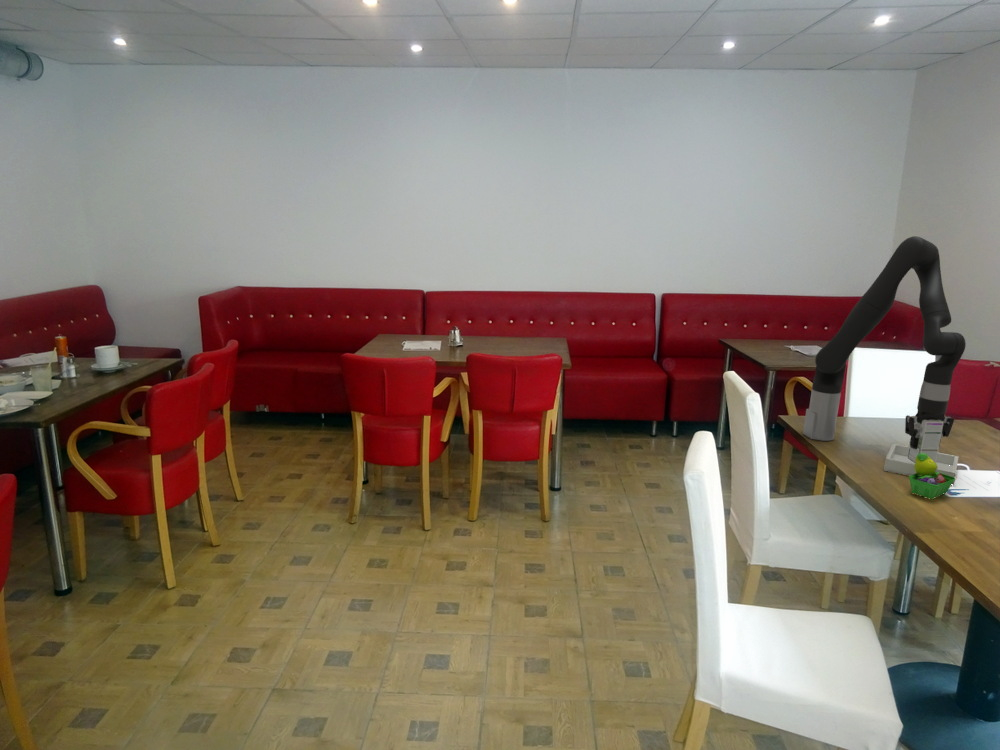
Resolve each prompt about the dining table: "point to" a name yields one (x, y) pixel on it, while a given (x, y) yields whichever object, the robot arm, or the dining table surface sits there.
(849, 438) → the dining table surface
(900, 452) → the tray
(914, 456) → the syrup box
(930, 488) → the fruit basket
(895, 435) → the dining table surface
